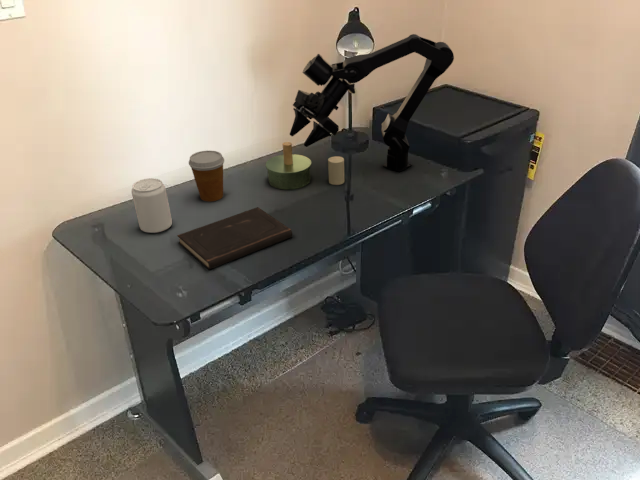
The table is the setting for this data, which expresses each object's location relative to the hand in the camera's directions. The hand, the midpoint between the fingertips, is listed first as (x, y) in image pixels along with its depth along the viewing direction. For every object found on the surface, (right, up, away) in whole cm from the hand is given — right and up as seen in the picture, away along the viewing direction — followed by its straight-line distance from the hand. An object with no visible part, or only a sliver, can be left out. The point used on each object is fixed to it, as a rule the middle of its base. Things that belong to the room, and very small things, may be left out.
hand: (297, 140), depth 175 cm
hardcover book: (-13, -30, -23) cm, 40 cm away
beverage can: (-35, -26, -18) cm, 47 cm away
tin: (-3, -11, +5) cm, 12 cm away
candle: (+11, -11, +4) cm, 16 cm away
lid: (-3, -7, +2) cm, 7 cm away
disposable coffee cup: (-24, -17, -3) cm, 29 cm away
